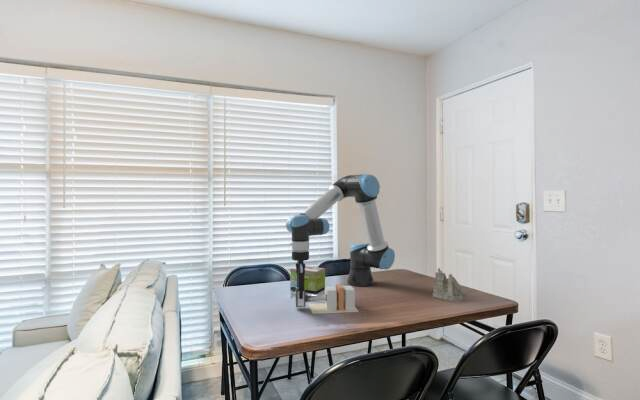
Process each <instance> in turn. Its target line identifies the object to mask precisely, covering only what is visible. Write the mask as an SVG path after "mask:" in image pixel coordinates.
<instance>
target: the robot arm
mask: <svg viewBox="0 0 640 400" xmlns="http://www.w3.org/2000/svg"><path fill="white" fill-rule="evenodd" d="M380 187H381V186H380V182H379V180H378V178H377V177H376V176H374V175H373V174H368V173H364V174H362V173H361V174H353V175H352V174H350V175H345V176H343V177H341V178H340V179H338V180H336V181H335V182H334V183H332V184H331V185H330V186H329V188H328V190H327V191H326V192H324V194H322V195H321V196H319V197H318V198H317V199H316V200H315V201H313V202H312V203H311V204H310V205H309V206H308V207H306V208H305V209H304V210H303V211H302V212H301V213H299V214H296V215H292V217H289V218H288V219H287V220H286V223H285V227H286V230H287V231H288V232H289V233H291V243H290V244H289V245H290V246H291V250H292V251H291V260H292V261H296V263H295V267H296V273H297V287H298V290H296V291H298V306H304V290H305V289H304V274H305V266H306V263H304V262H305V261H308V260H310V251H309V250H310V237H311V236H322V235H326V234H328V233H329V231H330V223H329V221H328V220H327V219H326V218H320V217H321V216H322V215H324V214H325V213H326V212H327V211H328V210H329V209H331V207H333V206H334V205H335V204H336V203H337V202H341V201H342V200H343V199H345V198H350V197H351V198H354V201H355V204H358V205H359V209H360V214H361V216H362V221H363V225H364V230H365V233H366V238H367V241H368V242H363V243H362V242H361V243H355V244H351V246H350V251H349V253H350V254H349V257H350V258H349V259H350V263H349V264H350V265H349V266H350V270H349V274H348V276H347V282H346V283H347V284H348V286H352V287H353V286H354V287H369V286H373V285H374V282H375V281H374V277H373V274H372V271H371V270H372V269H371V268H373V269H380V270H389V269H390V268H391V267H393V264H394V262H395V259H396V258H395V257H396V254H395V250H394V249H393V248H390V247H389V243H388V242H387V241H386V240H385V239H384V237H385V236H384V233H383V229H382V226H381V220H380V216H379V211H378V207H377V201H376V200H377V199H378V195H379V194H380V189H381V188H380Z"/></svg>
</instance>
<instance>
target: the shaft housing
mask: <svg viewBox="0 0 640 400" xmlns="http://www.w3.org/2000/svg"><path fill="white" fill-rule="evenodd" d="M342 287H343V288H344V310H339V309H338V307H337V290H336V286H334V285H333V286H325V294H327V301H324V302H320V303H319V302H318V303H316V302H315V303H308V306H309V308H310V312H311V315H319V314H340V313H341V314H342V313H359V310H358V309H357V307H356V299H355V297H356V292H355V291H356V290H355V288H354V287H353V285H342Z"/></svg>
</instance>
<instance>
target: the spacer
mask: <svg viewBox="0 0 640 400" xmlns="http://www.w3.org/2000/svg"><path fill="white" fill-rule="evenodd" d="M335 289H336V290H337V307H338V309H339V310H344V288H343V285H342V284H341V283H335Z"/></svg>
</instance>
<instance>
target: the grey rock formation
mask: <svg viewBox="0 0 640 400" xmlns="http://www.w3.org/2000/svg"><path fill="white" fill-rule="evenodd" d="M462 288H463V287H462V285H461V284H459V282H458V281H457V279H456V278H455V277H454V276H453V274H452V273H449V274H448V278H447V275H446V273H445V272H443V271H442V270H441V267H438V268H437V271H436V272H435V277H434V286H433V290H432V295H433V296H434V297H436V298H435V299H437V298H439V299H438V300H441V299H445V300H444V301H447V300H450V301H449V302H452V301H461V302H463V301H464V296H463V295H462V293H463V291H462ZM433 296H432V297H433ZM434 297H433V298H434Z"/></svg>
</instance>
